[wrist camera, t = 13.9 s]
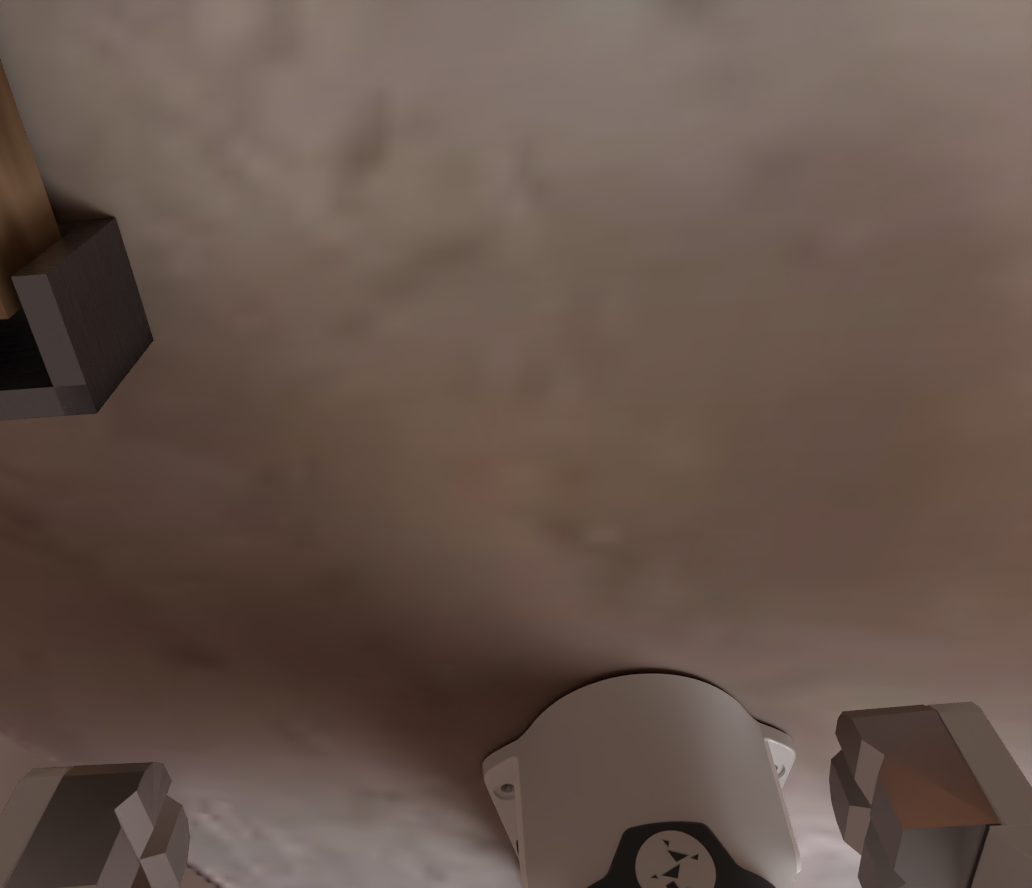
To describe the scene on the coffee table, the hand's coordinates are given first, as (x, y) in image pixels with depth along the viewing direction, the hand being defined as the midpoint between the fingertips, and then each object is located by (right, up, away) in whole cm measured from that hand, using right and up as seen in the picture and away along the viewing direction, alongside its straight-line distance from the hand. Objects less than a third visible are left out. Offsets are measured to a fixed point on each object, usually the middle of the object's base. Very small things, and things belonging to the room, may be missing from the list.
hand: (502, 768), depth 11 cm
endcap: (-19, +10, +26) cm, 34 cm away
